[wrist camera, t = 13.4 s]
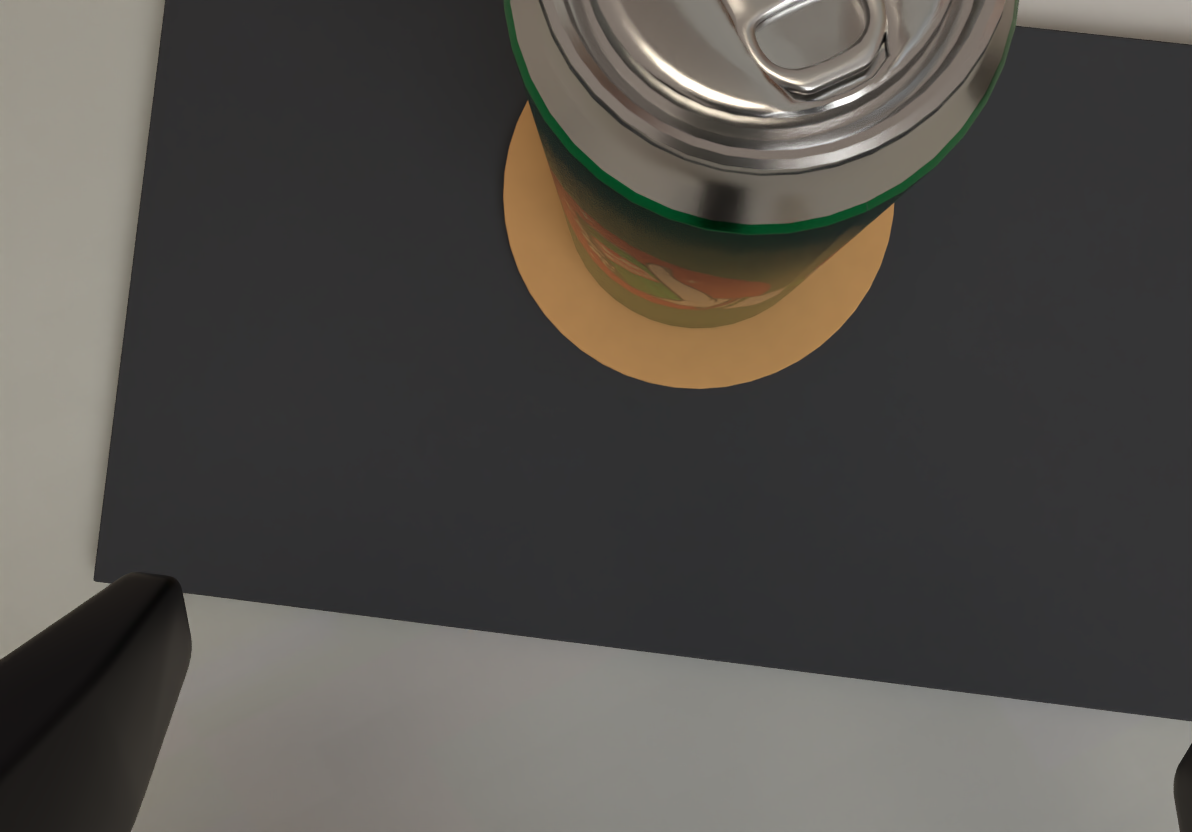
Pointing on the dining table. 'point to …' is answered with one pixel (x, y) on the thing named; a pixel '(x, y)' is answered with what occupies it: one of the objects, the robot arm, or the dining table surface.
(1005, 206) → the placemat
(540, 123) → the soda can
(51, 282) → the dining table surface
